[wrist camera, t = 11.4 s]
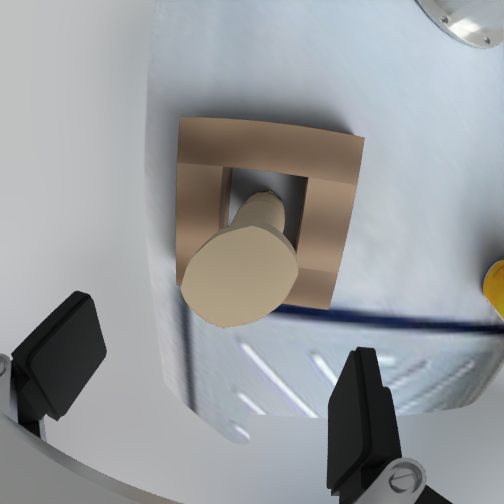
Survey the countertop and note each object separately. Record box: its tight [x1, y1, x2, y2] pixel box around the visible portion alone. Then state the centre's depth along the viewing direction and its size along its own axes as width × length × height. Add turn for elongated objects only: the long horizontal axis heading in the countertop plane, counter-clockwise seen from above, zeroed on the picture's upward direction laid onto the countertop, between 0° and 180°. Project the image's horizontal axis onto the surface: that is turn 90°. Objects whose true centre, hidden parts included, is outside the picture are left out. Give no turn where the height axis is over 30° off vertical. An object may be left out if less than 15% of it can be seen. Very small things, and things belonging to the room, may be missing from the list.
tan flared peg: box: [181, 190, 298, 328], centre depth 22 cm, size 5×6×15 cm
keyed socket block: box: [176, 117, 365, 310], centre depth 27 cm, size 16×15×4 cm
